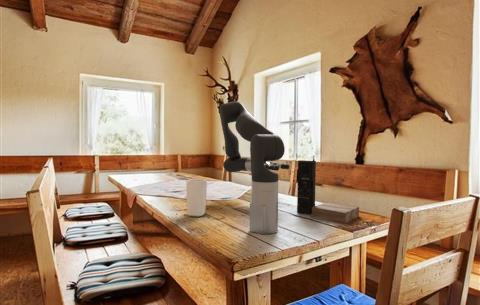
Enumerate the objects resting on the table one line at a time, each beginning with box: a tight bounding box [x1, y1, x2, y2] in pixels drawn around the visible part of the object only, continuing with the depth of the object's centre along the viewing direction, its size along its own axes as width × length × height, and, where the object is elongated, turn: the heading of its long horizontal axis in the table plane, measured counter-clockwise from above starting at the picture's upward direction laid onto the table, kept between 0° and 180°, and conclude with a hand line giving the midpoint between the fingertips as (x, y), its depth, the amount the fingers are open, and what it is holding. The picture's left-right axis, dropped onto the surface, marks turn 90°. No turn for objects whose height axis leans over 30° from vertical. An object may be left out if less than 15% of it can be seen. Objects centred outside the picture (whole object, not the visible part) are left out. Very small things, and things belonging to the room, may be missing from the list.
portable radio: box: [295, 155, 317, 215], centre depth 130 cm, size 8×6×25 cm
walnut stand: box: [311, 201, 360, 224], centre depth 123 cm, size 14×14×4 cm
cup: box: [185, 178, 208, 218], centre depth 123 cm, size 7×7×15 cm
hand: (283, 167), depth 137 cm, fingers open, 8 cm apart
